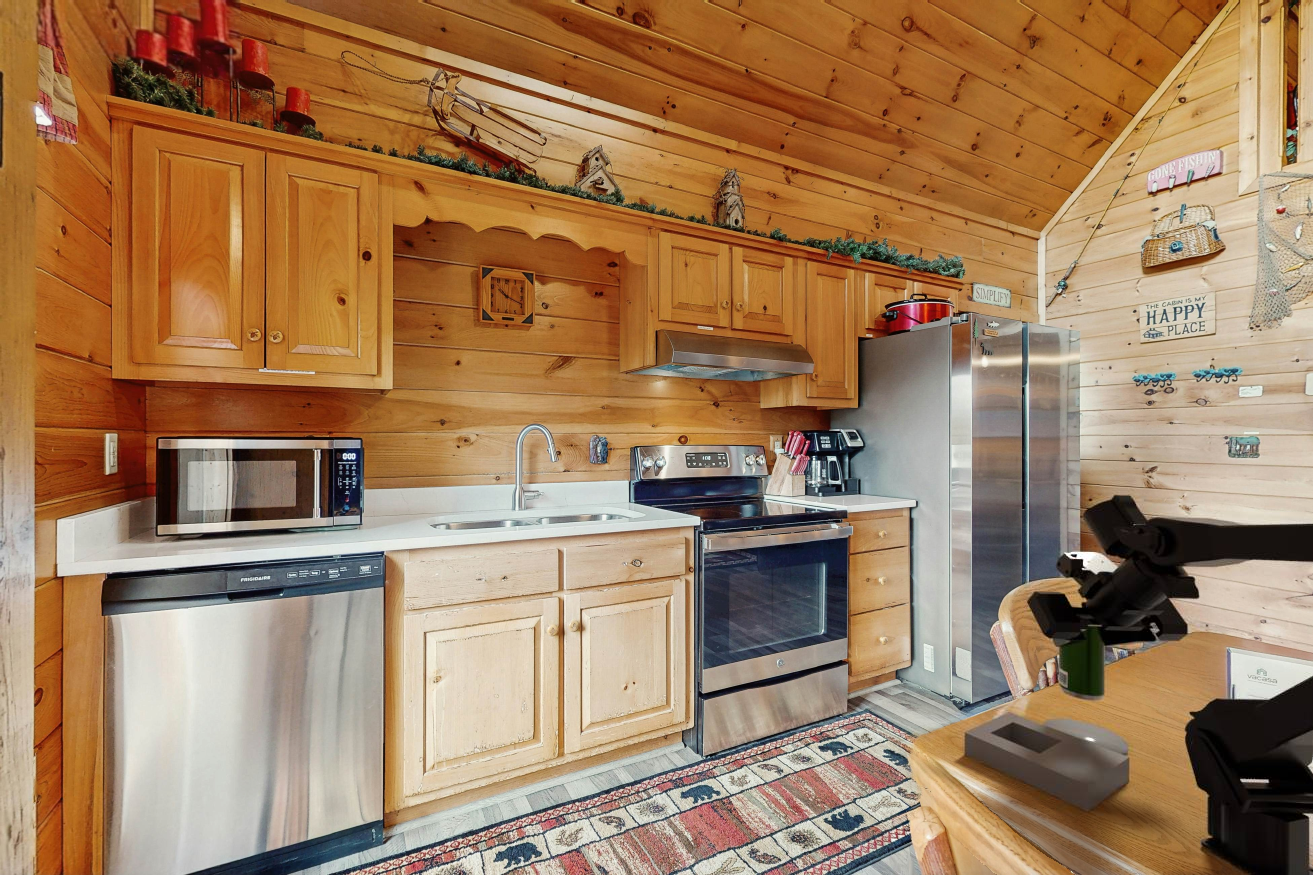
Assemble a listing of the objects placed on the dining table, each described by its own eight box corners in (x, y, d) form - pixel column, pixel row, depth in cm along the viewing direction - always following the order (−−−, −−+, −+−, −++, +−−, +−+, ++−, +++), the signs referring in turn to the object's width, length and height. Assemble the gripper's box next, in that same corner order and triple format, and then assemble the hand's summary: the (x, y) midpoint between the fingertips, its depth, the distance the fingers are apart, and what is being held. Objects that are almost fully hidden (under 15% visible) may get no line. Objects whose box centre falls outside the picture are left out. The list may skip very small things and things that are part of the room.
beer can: (1077, 701, 81) (1077, 615, 81) (1050, 685, 87) (1050, 605, 87) (1114, 701, 81) (1114, 615, 82) (1085, 686, 87) (1085, 605, 87)
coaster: (1146, 752, 80) (1146, 748, 80) (1091, 761, 78) (1091, 756, 78) (1078, 719, 90) (1078, 715, 90) (1026, 726, 88) (1026, 722, 88)
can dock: (1129, 780, 73) (1129, 756, 73) (1088, 811, 67) (1088, 785, 67) (1009, 732, 86) (1009, 711, 86) (964, 754, 79) (964, 732, 79)
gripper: (1169, 537, 81) (1107, 596, 91) (1035, 534, 81) (989, 594, 91) (1225, 609, 72) (1150, 665, 83) (1076, 606, 72) (1021, 663, 83)
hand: (1074, 644), depth 85 cm, fingers closed on beer can, 5 cm apart
